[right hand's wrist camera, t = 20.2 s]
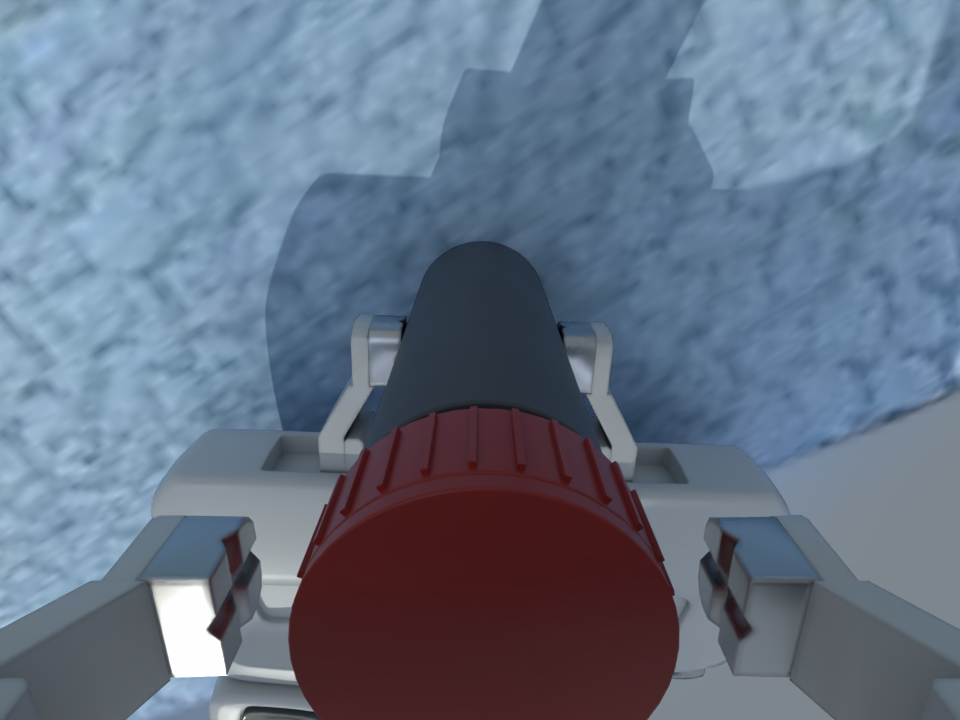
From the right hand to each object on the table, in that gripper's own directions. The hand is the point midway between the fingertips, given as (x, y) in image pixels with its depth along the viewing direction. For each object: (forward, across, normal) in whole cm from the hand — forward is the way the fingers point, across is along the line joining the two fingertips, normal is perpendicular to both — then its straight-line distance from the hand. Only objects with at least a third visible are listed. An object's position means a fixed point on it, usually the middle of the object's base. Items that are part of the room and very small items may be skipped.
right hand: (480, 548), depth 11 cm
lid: (-2, 0, 0) cm, 2 cm away
